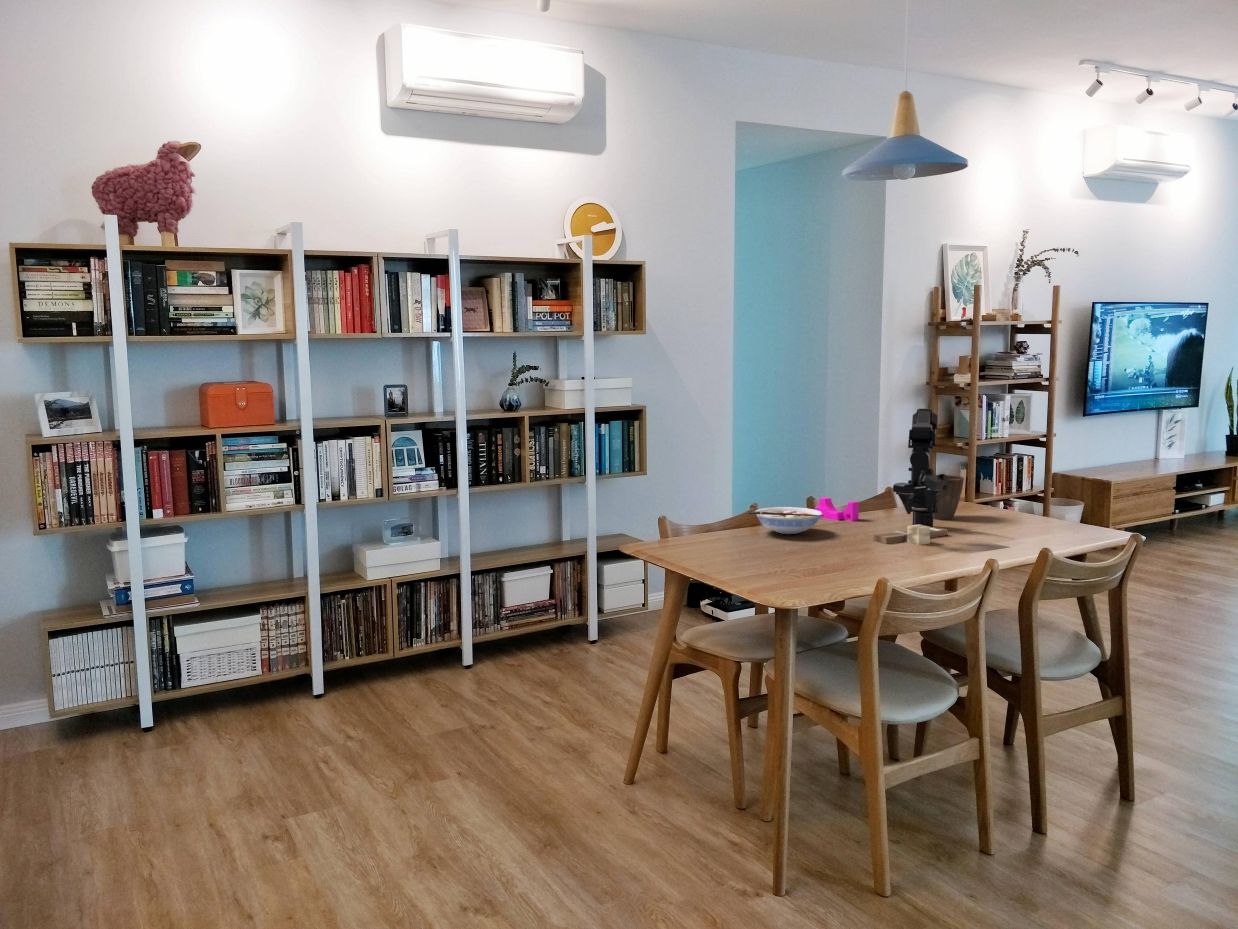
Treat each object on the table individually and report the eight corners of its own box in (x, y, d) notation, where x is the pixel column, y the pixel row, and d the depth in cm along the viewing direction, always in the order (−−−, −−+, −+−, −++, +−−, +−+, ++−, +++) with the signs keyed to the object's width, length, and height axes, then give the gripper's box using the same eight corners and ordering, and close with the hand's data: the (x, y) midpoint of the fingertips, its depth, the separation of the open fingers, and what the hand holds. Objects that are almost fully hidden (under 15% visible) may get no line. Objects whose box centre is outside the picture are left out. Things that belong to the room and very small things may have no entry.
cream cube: (904, 541, 318) (904, 525, 317) (915, 540, 320) (915, 523, 320) (918, 545, 313) (918, 528, 312) (929, 543, 315) (930, 526, 314)
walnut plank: (872, 540, 320) (873, 534, 320) (934, 532, 334) (934, 526, 333) (886, 543, 315) (886, 537, 315) (947, 535, 328) (947, 528, 328)
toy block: (814, 518, 364) (814, 499, 363) (824, 516, 368) (825, 497, 367) (848, 523, 353) (848, 503, 352) (858, 521, 357) (858, 501, 356)
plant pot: (911, 518, 363) (913, 475, 361) (945, 515, 367) (947, 473, 365) (936, 524, 349) (937, 480, 347) (971, 522, 353) (972, 478, 351)
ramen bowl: (827, 528, 342) (827, 506, 341) (822, 541, 320) (823, 516, 319) (756, 525, 349) (756, 503, 348) (747, 537, 327) (747, 513, 326)
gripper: (918, 469, 302) (916, 519, 304) (960, 465, 311) (959, 513, 312) (892, 465, 311) (891, 514, 313) (934, 462, 320) (932, 509, 322)
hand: (919, 512), depth 315 cm, fingers open, 9 cm apart
